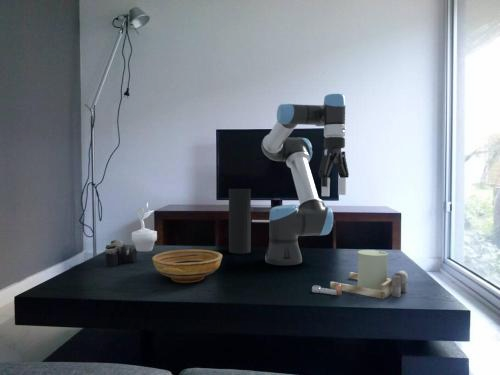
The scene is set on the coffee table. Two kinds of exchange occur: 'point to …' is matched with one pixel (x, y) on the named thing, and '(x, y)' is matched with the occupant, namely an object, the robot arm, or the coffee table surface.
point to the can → (372, 268)
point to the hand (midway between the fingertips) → (334, 195)
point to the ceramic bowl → (187, 264)
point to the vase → (239, 221)
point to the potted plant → (143, 233)
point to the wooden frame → (389, 287)
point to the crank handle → (328, 290)
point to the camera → (119, 253)
